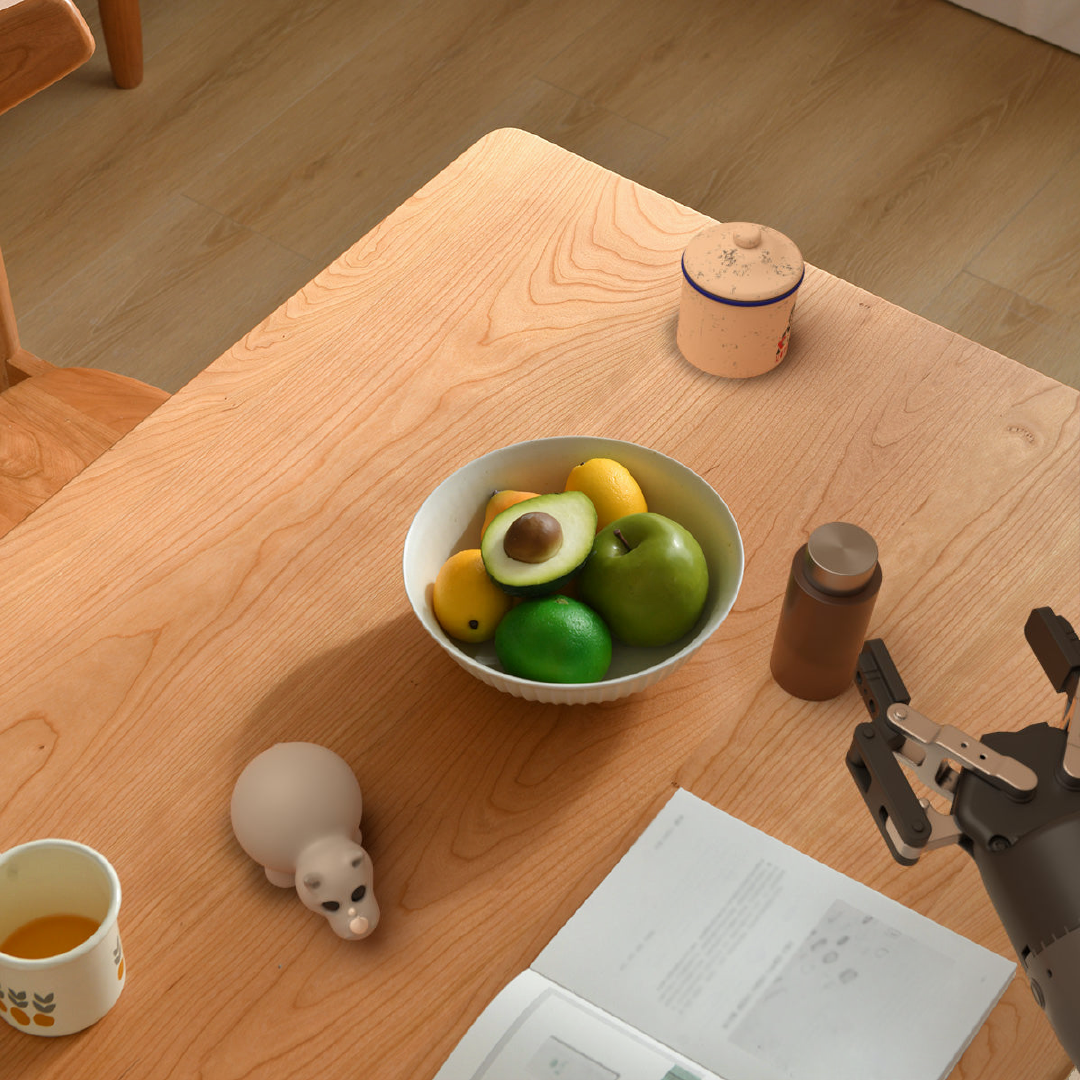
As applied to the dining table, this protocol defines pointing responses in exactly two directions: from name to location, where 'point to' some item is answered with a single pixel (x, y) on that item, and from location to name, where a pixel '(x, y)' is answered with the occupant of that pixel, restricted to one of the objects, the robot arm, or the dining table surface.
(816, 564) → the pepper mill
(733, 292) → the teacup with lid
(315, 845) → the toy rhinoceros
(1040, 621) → the robot arm
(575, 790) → the dining table surface
